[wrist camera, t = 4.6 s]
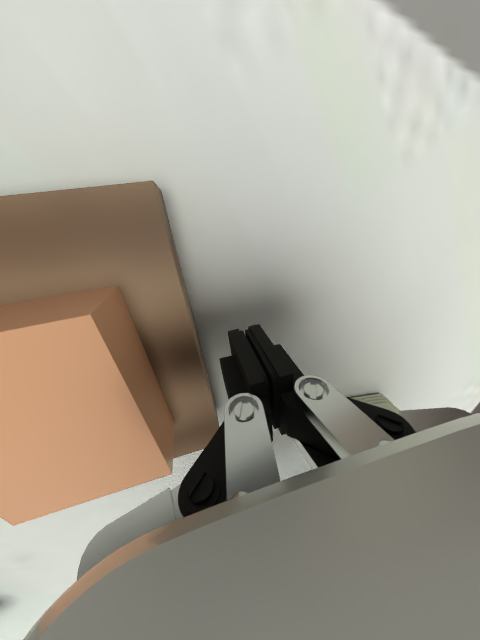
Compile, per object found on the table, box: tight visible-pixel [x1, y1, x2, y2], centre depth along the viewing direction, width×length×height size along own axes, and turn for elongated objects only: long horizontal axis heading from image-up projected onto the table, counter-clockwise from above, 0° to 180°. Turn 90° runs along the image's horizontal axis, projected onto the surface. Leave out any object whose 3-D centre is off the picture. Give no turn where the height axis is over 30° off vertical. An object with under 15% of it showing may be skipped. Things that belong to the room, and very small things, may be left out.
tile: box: [0, 286, 174, 526], centre depth 9 cm, size 9×7×3 cm
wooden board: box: [0, 181, 219, 458], centre depth 11 cm, size 16×16×3 cm
